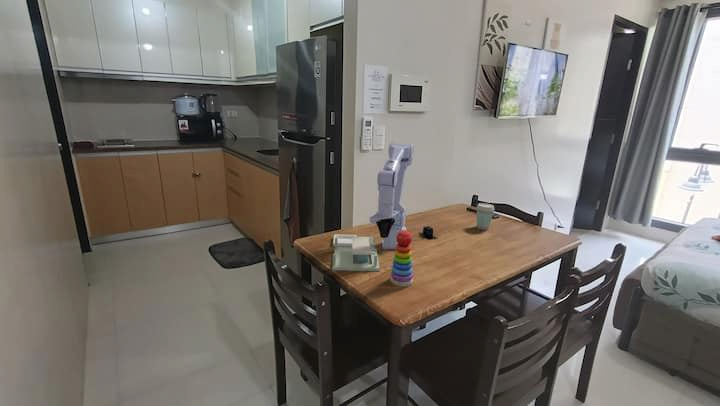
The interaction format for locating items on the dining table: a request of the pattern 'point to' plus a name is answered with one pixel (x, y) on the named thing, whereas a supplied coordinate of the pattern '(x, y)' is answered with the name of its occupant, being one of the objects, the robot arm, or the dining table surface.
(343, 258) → the puzzle board
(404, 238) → the stacking toy
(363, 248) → the cover
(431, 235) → the black box
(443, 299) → the dining table surface
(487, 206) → the coffee cup
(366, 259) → the block
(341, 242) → the dish
